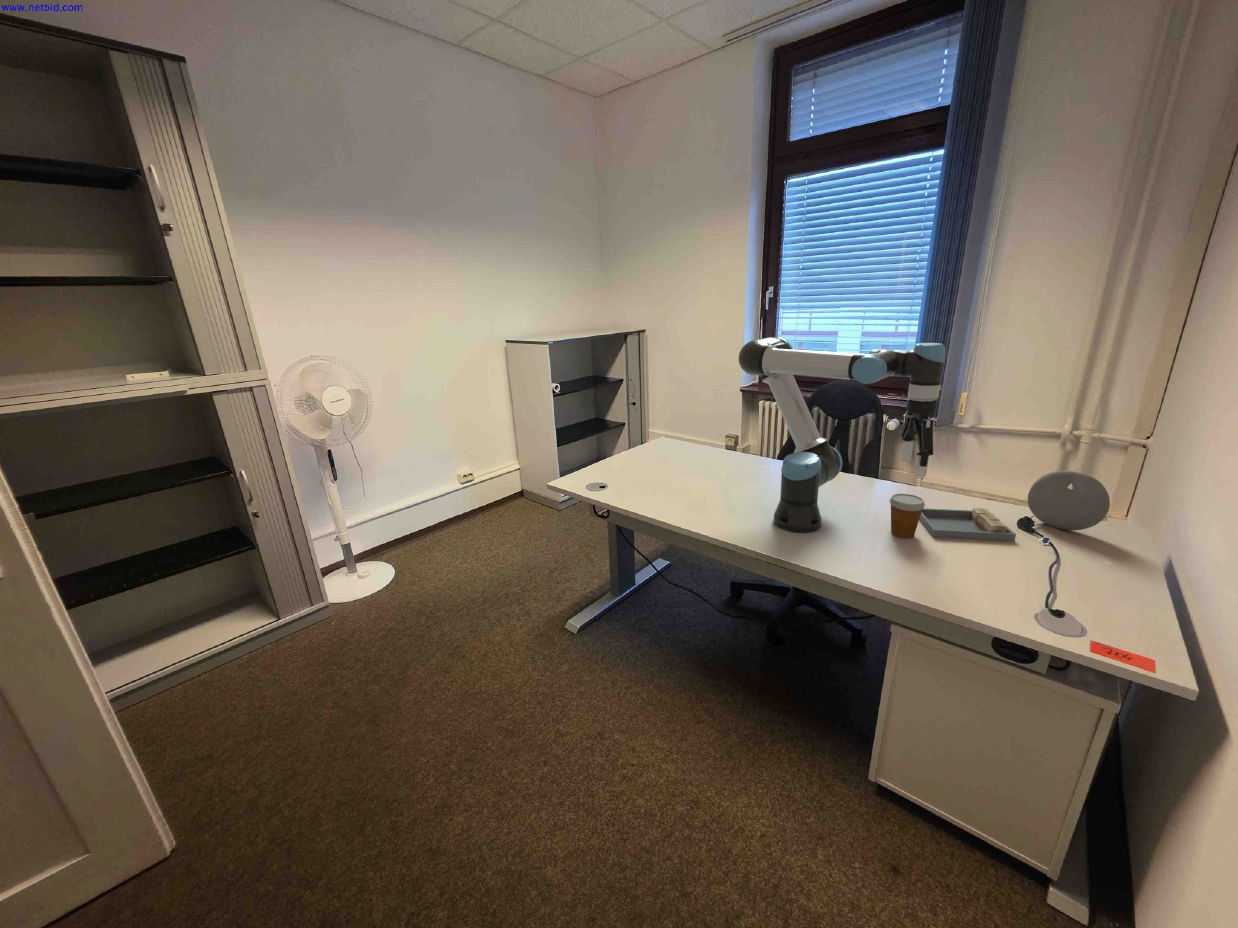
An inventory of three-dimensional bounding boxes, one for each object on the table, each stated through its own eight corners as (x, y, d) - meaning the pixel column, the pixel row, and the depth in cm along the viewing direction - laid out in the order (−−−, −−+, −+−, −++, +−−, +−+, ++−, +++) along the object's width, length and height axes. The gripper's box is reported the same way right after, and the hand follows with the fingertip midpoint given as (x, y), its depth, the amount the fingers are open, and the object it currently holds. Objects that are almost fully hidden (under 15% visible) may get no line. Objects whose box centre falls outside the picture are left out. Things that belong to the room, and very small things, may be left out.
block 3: (989, 537, 147) (991, 525, 146) (983, 531, 151) (985, 519, 150) (1004, 538, 147) (1007, 526, 145) (997, 532, 150) (1000, 520, 149)
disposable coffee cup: (924, 541, 148) (930, 505, 144) (890, 540, 150) (895, 504, 146) (913, 527, 157) (918, 493, 153) (881, 526, 159) (885, 492, 155)
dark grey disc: (1101, 533, 148) (1118, 475, 142) (1099, 541, 143) (1117, 482, 137) (1024, 516, 161) (1036, 462, 155) (1020, 524, 156) (1032, 468, 150)
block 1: (974, 524, 156) (976, 512, 155) (971, 519, 160) (973, 507, 158) (989, 525, 155) (992, 514, 153) (985, 520, 158) (988, 509, 157)
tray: (932, 538, 150) (933, 529, 149) (914, 516, 165) (915, 508, 164) (1014, 543, 145) (1016, 534, 144) (988, 519, 160) (989, 511, 159)
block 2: (984, 531, 151) (986, 519, 150) (976, 525, 155) (978, 514, 154) (997, 531, 151) (1000, 519, 150) (989, 525, 155) (991, 514, 153)
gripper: (955, 407, 128) (942, 483, 134) (922, 390, 151) (912, 456, 157) (923, 407, 129) (912, 482, 136) (895, 390, 152) (887, 455, 159)
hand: (912, 468), depth 147 cm, fingers open, 13 cm apart
